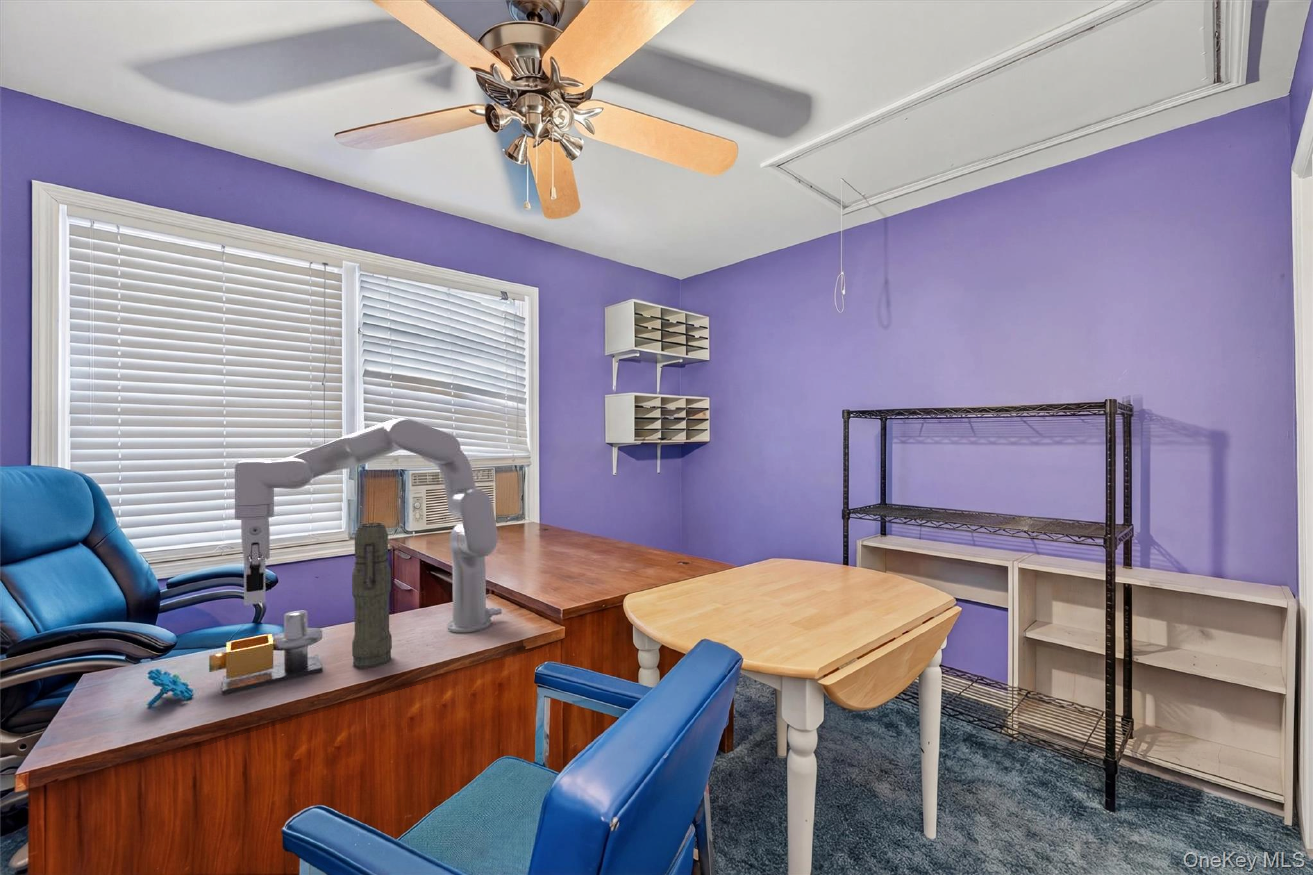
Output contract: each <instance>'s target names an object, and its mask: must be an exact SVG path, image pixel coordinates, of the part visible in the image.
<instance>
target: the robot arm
mask: <svg viewBox="0 0 1313 875" xmlns="http://www.w3.org/2000/svg"><path fill="white" fill-rule="evenodd" d="M399 450H404V451H407V452H409V453H412V454H414V455H418V456H419V457H421V458H422V459H423V460H425V461H426V462H429V463H432V464H434V465H435V466H436V467H437V468H438V469H439V471H440V473H441V476H442V479H443V485H444V490H445V491H444V492H445V495H446V496H445V497H446V502H447V508H448V511H449V513H450V514H451V515H452V516H453V517H455V518H456V519H460V520H461V522H459V523H458V524H457V525H455V526H454V527H453V529H452V531H451V532H450V536H449V548H450V554H451V565H452V620H451V621H450V622H448V623H447V626H446V628H447V630H448V631H449V632H453V633H465V634H466V633H473V632H477V631H478V632H479V631H481V630H484V629H487V628H488V627H490V626H491V625H492V617H493V616H500V615H502V612H503V610H502V608H501V607H499V608H494V607H492V608H488V607H487V598H486V597H487V596H486V593H487V592H486V591H487V590H486V583H487V582H486V577H487V576H486V574H487V573H486V570H487V568H486V557H488V556H490V555H491V554H492V553H493V552H494V551H495V549H496V547H497V544H498V530H497V523H496V518H495V512H494V505H493V502H492V500H491V497H490V496H489V494H488V493H487V492H486V491H484V490H483V489H481V488H477V486H476V482H475V479H474V478H475V477H474V473H473V469H472V464H471V462H470V461H469V458H468V456H467V455H466V454H465V453H464V451H463V450H462V448H461V444H460V441H459V439H458V438H457V437H456V436H454V435H453V434H451V433H448V432H445V431H443V430H440V429H437V428H434V427H432V426H430V425H427V424H424V423H422V422H418V421H417V420H413V419H409V418H397V419H396V418H395V419H391V420H388V421H385V422H382V423H379V424H377V425H374V426H371V427H368V428H365V429H362V430H359V431H357V432H354V433H351V434H347V435H346V436H343V437H339V438H337V439H335V440H332V441H330V442H327V443H325V444H322V445H319V446H318V447H317V446H316V447H313V448H311V449H308V450H306V451H302V452H299V453H297V454H293V455H292V456H288V457H286V458H282V459H281V460H273V461H271V460H267V459H256V460H255V459H253V460H252V459H251V460H249V459H248V460H241V461H238V462H237V463H236V464H235V466H234V520H235V521H241V522H240V523H241V524H240V525H241V526H240V529H241V538H240V539H241V548H242V556H243V562H244V561H245V562H247V560H248V562H247V563H248V575H246V591H247V592H253V591H260V590H263V588H264V573H262V558H265V561H268V560H270V558H271V551H270V550H271V549H270V548H271V546H270V545H271V544H270V538H271V537H270V534H271V531H270V529H271V528H270V520H269V519H270V518H271V519H272V518H274V517H275V489H280V490H281V489H282V490H284V489H285V490H298V489H302V488H304V487H306V486H307V485H309V484H310V483H311V482H312V480H314V479H316V478H319V477H321V476H323V475H326V474H329V473H332V472H333V473H334V472H336V471H340V470H347V469H352V468H356V467H359V466H362V465H365V464H367V463H370V462H372V461H375V460H377V459H379V458H380V459H381V457H384V456H385V457H386V456H387V455H390V454H393V453H395V452H398V451H399ZM259 558H260V560H259ZM250 559H252V561H250ZM250 564H251V565H250ZM259 570H260V571H259ZM259 572H260V573H259Z"/></svg>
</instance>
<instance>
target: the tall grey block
mask: <svg viewBox="0 0 1313 875" xmlns="http://www.w3.org/2000/svg"><path fill="white" fill-rule="evenodd" d="M259 560H260V558H259ZM250 561H252V559H250ZM247 562H248V560H247ZM247 562H245V561H244V560H243V606H249V605H250V606H252V605H256V604H262V603H266V558H263V557H262V573H264V588H263V590H260V591H253V592H247V591H246V575H248V563H247ZM250 565H251V564H250ZM259 571H260V570H259ZM259 573H260V572H259Z"/></svg>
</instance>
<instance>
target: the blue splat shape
mask: <svg viewBox="0 0 1313 875" xmlns="http://www.w3.org/2000/svg"><path fill="white" fill-rule="evenodd" d="M162 672H163V671H162V670H161V669H159V668H156V669H150V670H149V671H148V672H147V675H148V676H147V679H148V680H150V681H152V682H151V683H152V685H153V686H155V687H159V688H160V689H159V692H158V693H157V694H156V695H154V697H153V698H151V699H150V701H148V702H147V703H146V705H147V707H150V708H152V707H153V706H154V705H156V703H157V702H158V701H159V700H160V699H161V698H163V697H164V695H168V694H169V692H171V696H172V697H174V698H176V699H178V698H179V697H180V699H181V700H185V701H187V700H188V699H189V700H190V699H191V698H193V697H194V696H195V693H193V692H194V689H193V688H191V687H189V686H190V685H189V684H188V682H185V681H182V679H181V678H180V676H179V675H178V674H176V673H175V674H174V675H173V676H171V675H172V673H170V672H169V671H167V670H165V671H164V672H163V673H162Z"/></svg>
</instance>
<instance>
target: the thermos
mask: <svg viewBox="0 0 1313 875" xmlns="http://www.w3.org/2000/svg"><path fill="white" fill-rule="evenodd" d="M388 553H389V534H388V531H387V528H386V525H385V524H382V523H380V522H371V523H363V524H361V525H358V526H357V529H356V532H355V535H354V557H355V561H354V567H353V570H352V574H351V586H352V587H351V588H352V590H351V593H352V597H353V600H354V602H353V604H354V636H353V639H352V646H351V647H352V648H351V652H352V657H353V661H352V667H354V668H356V669H371V668H376V667H379V666H383V665H385V664H387V663H389V662H391V660H392V645H393V641H392V640H393V638H392V636H393V635H392V633H391V630H390V593H391V591H392V569H391V567H390V564H389V558H388ZM388 661H389V662H388Z"/></svg>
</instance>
